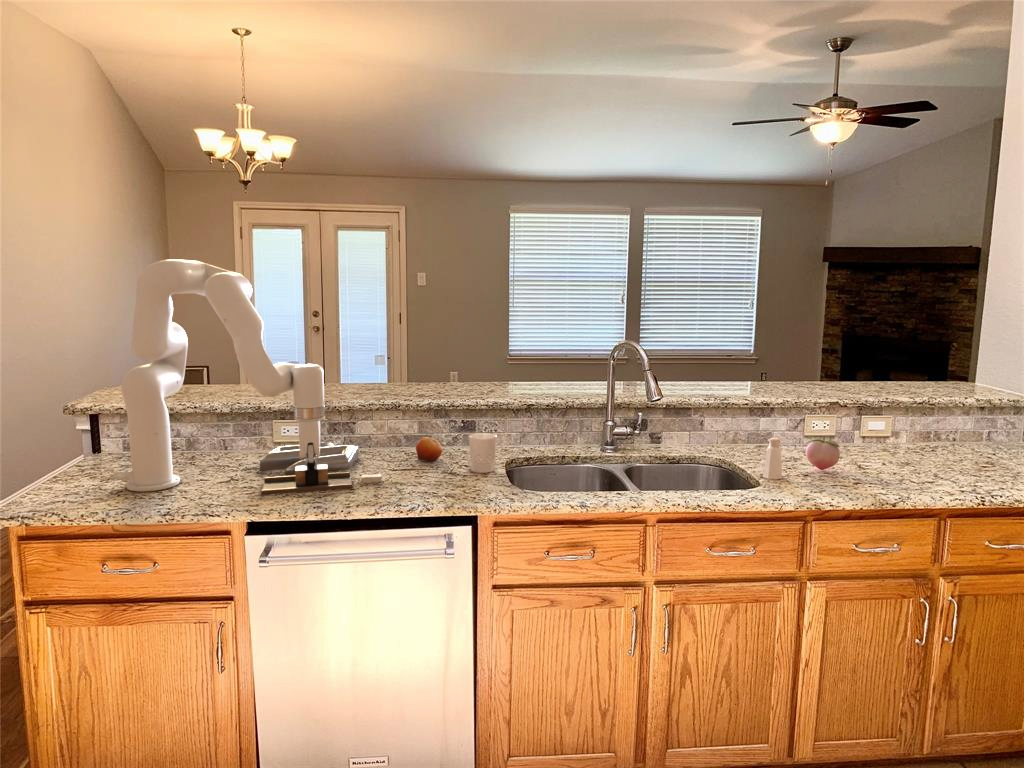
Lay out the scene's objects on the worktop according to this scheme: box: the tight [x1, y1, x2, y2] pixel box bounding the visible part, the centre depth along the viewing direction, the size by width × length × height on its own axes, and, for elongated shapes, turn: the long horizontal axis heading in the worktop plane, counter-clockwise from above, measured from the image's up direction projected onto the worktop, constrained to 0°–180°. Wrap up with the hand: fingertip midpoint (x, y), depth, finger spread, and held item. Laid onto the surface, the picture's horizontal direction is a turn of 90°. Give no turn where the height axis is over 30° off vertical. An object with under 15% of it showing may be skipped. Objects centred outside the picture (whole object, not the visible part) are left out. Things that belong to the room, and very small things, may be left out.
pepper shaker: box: [762, 437, 783, 480], centre depth 196 cm, size 5×5×11 cm
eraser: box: [295, 464, 329, 487], centre depth 181 cm, size 8×4×4 cm, turn 106°
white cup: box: [468, 432, 497, 474], centre depth 200 cm, size 8×8×10 cm
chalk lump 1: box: [361, 474, 373, 484], centre depth 185 cm, size 2×2×2 cm
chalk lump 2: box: [370, 473, 383, 483], centre depth 185 cm, size 2×2×2 cm
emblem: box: [259, 441, 360, 476], centre depth 202 cm, size 28×5×28 cm
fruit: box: [415, 436, 443, 463], centre depth 210 cm, size 8×8×8 cm
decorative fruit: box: [805, 436, 841, 471], centre depth 204 cm, size 9×8×10 cm
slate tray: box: [260, 471, 353, 496], centre depth 181 cm, size 22×12×2 cm, turn 106°
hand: (312, 481), depth 181 cm, fingers closed on eraser, 4 cm apart
